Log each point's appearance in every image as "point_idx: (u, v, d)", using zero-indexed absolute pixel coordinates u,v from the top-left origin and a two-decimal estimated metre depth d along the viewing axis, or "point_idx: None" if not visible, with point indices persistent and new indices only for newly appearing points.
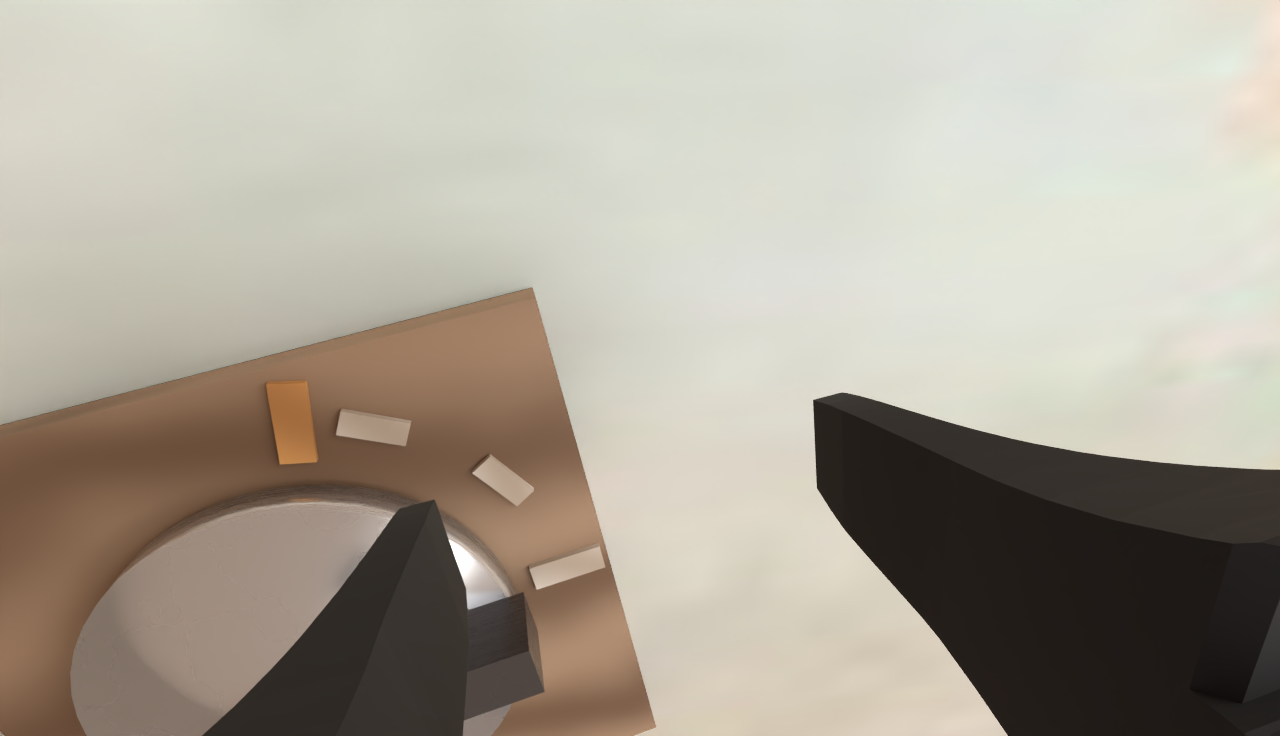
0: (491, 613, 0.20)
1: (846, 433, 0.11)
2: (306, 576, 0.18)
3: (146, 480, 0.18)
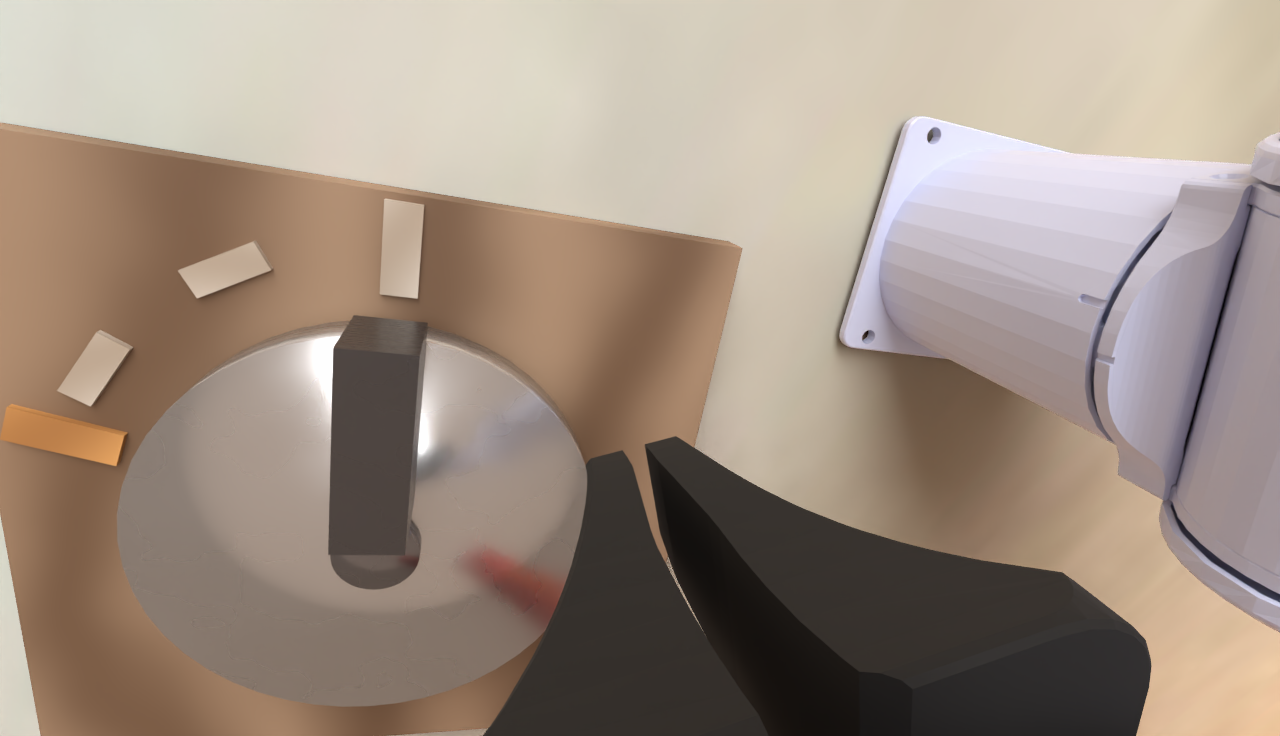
0: None
1: (663, 483, 0.10)
2: (222, 502, 0.17)
3: (107, 565, 0.18)
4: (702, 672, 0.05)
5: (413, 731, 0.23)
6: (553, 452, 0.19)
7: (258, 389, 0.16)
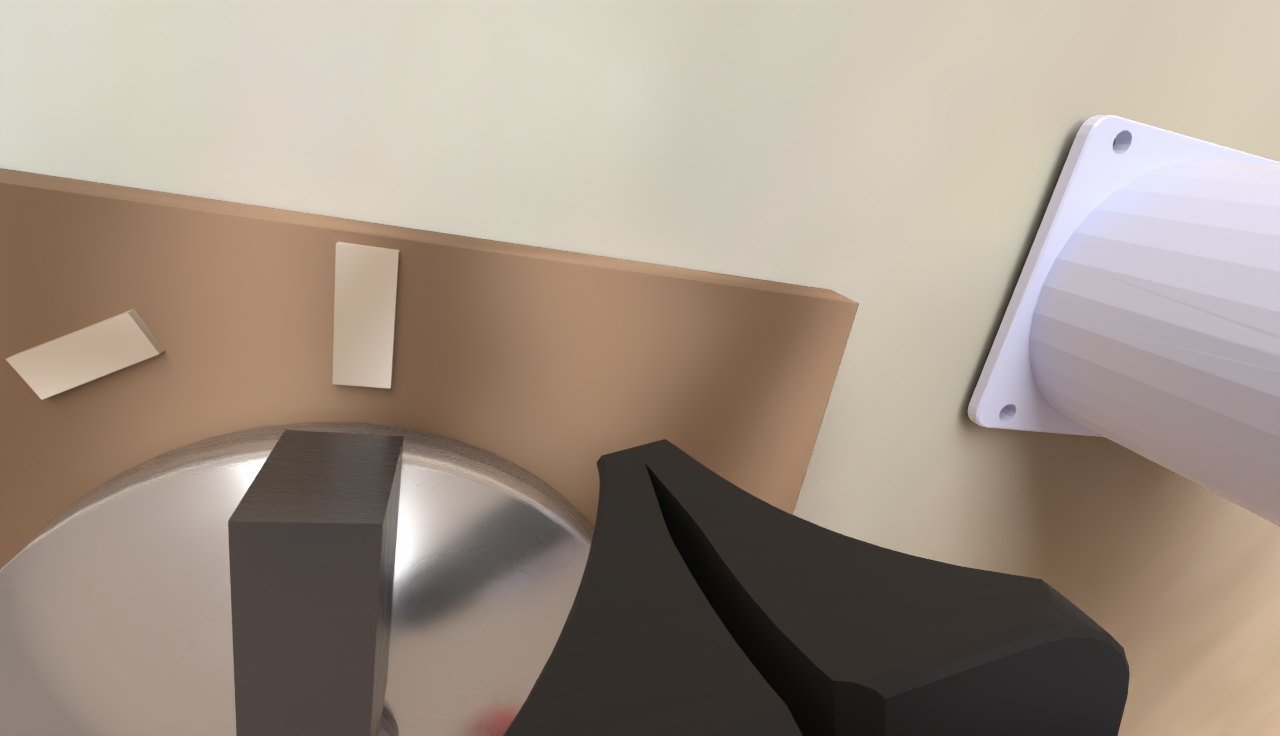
0: None
1: None
2: (89, 707, 0.11)
3: None
4: (726, 664, 0.05)
5: None
6: None
7: (135, 546, 0.10)
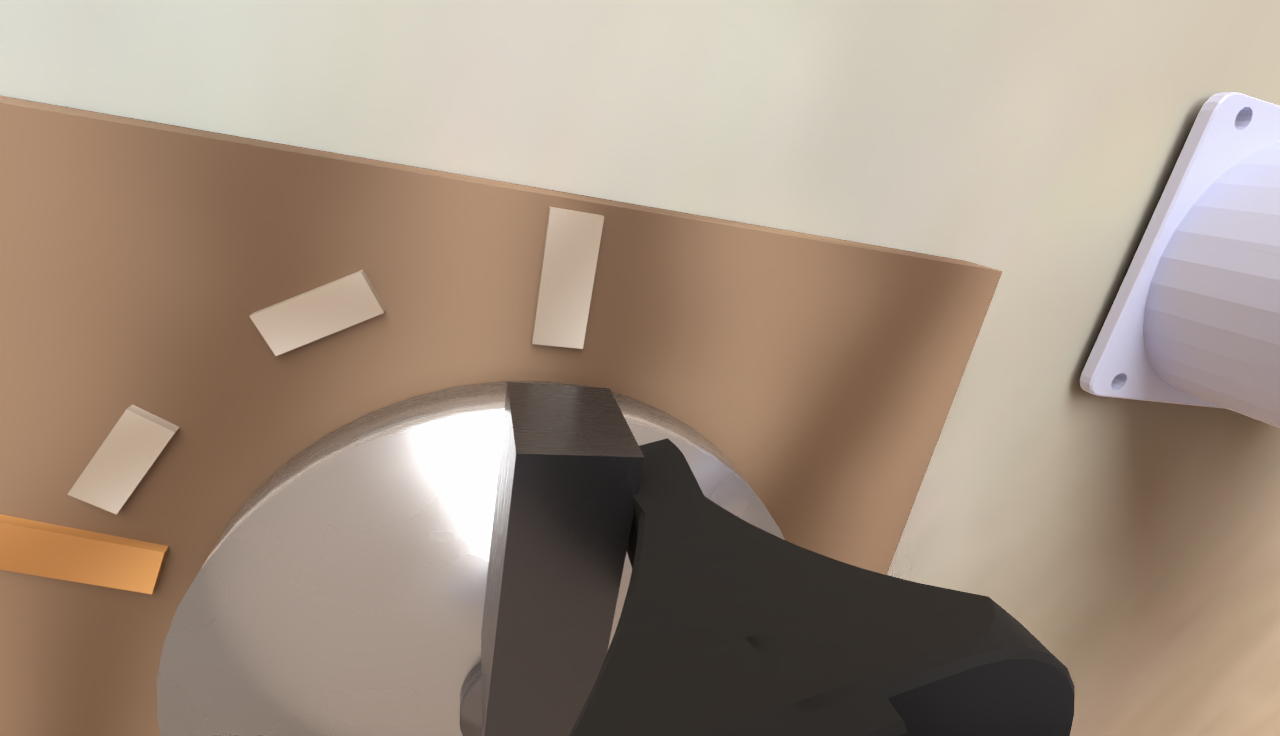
0: (502, 452, 0.10)
1: None
2: (307, 654, 0.11)
3: (136, 723, 0.13)
4: (799, 640, 0.05)
5: None
6: None
7: (365, 495, 0.11)
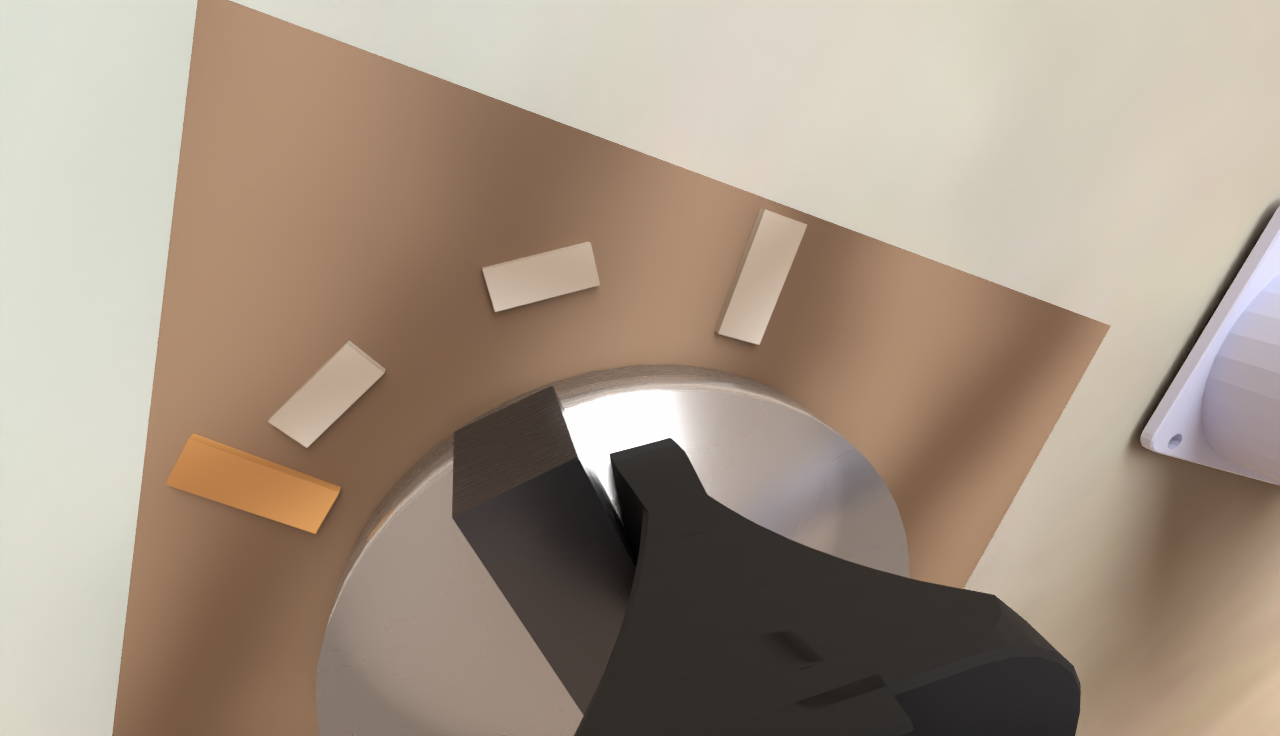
0: None
1: (624, 494, 0.10)
2: (447, 722, 0.12)
3: (257, 668, 0.13)
4: (805, 638, 0.05)
5: None
6: (803, 452, 0.12)
7: (402, 585, 0.11)
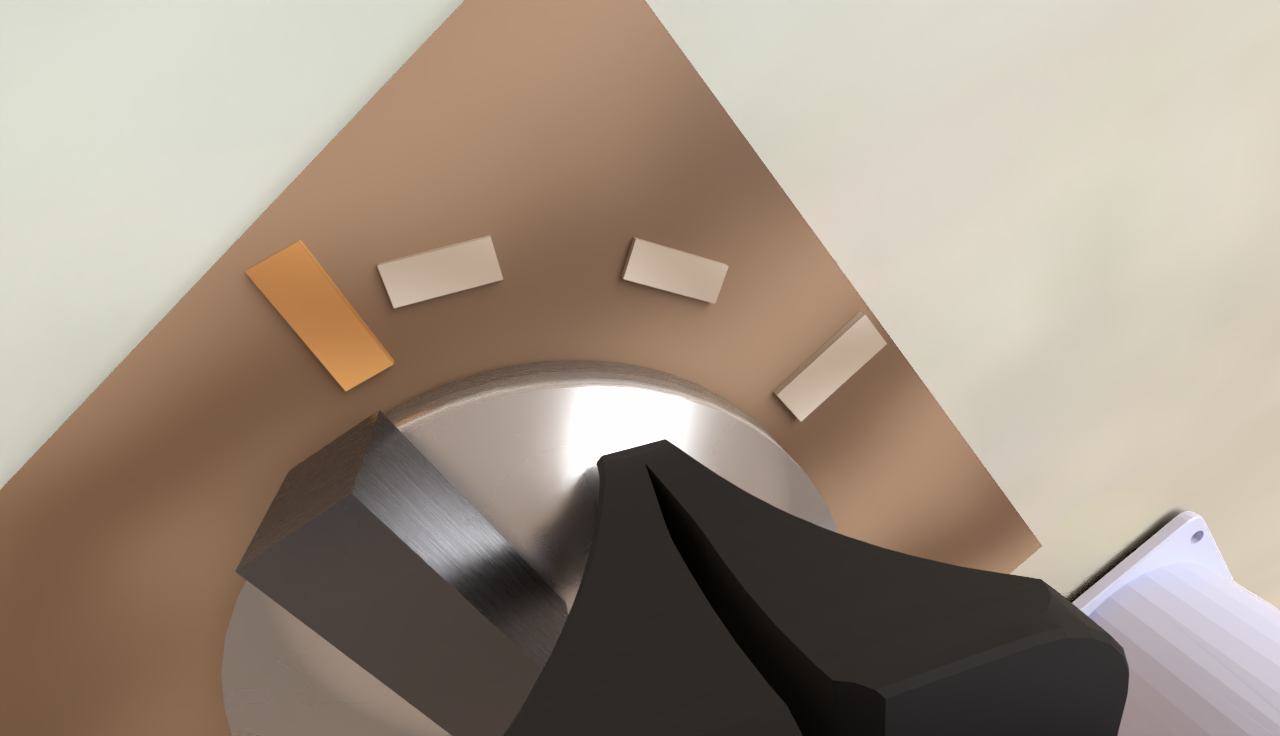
0: None
1: None
2: None
3: (193, 496, 0.12)
4: (726, 664, 0.05)
5: None
6: (680, 434, 0.12)
7: (284, 622, 0.11)
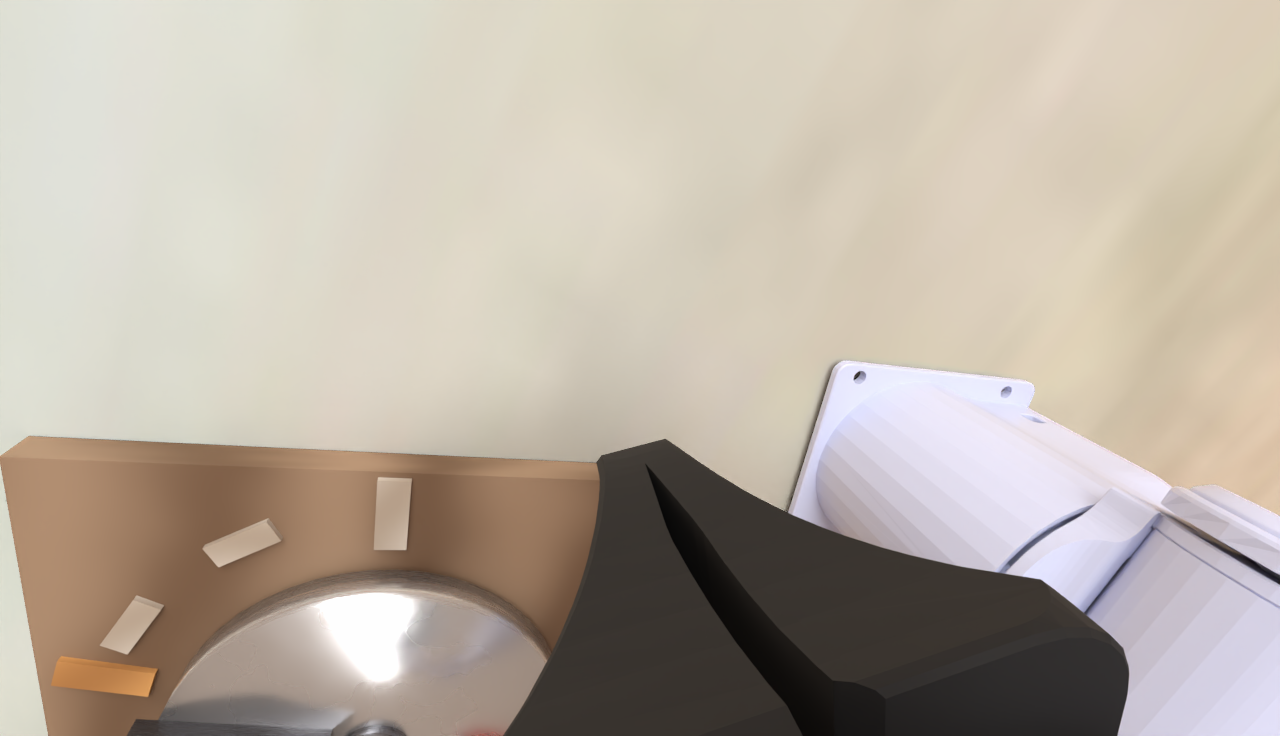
0: None
1: None
2: None
3: None
4: (726, 664, 0.05)
5: None
6: (295, 632, 0.19)
7: None
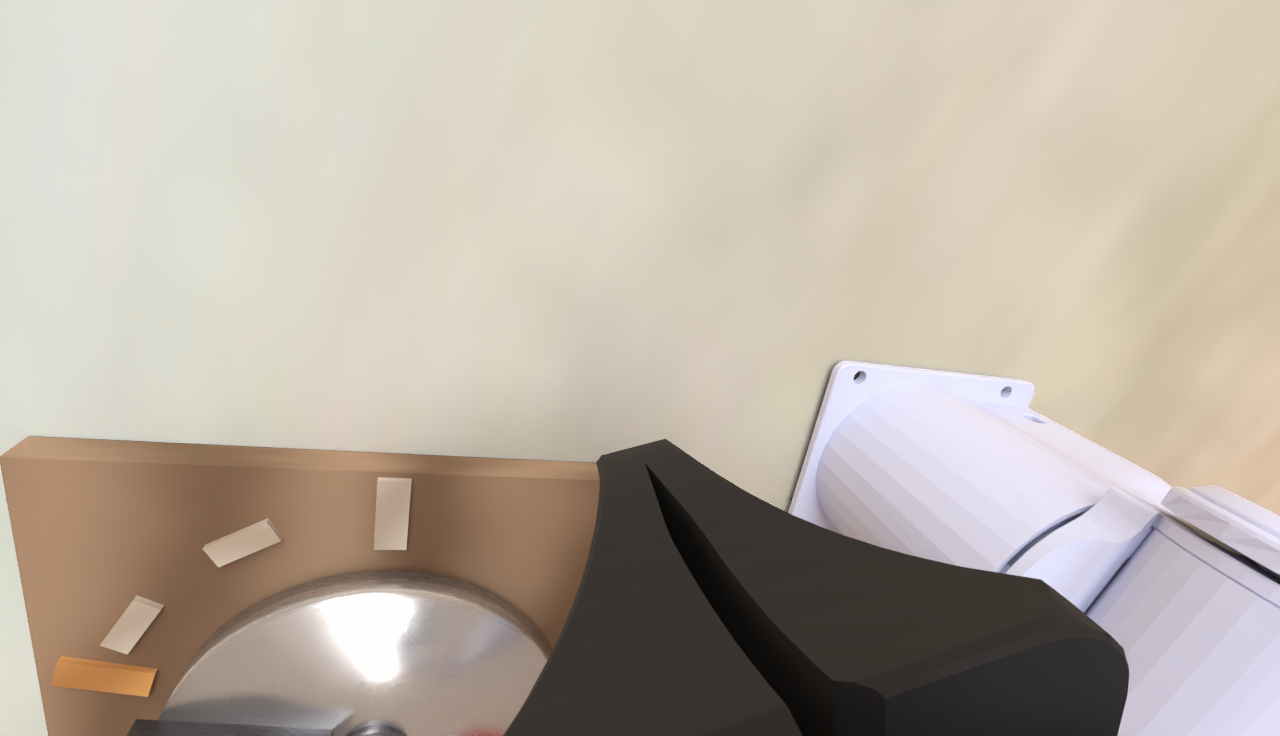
0: None
1: None
2: None
3: None
4: (726, 664, 0.05)
5: None
6: (295, 632, 0.19)
7: None
